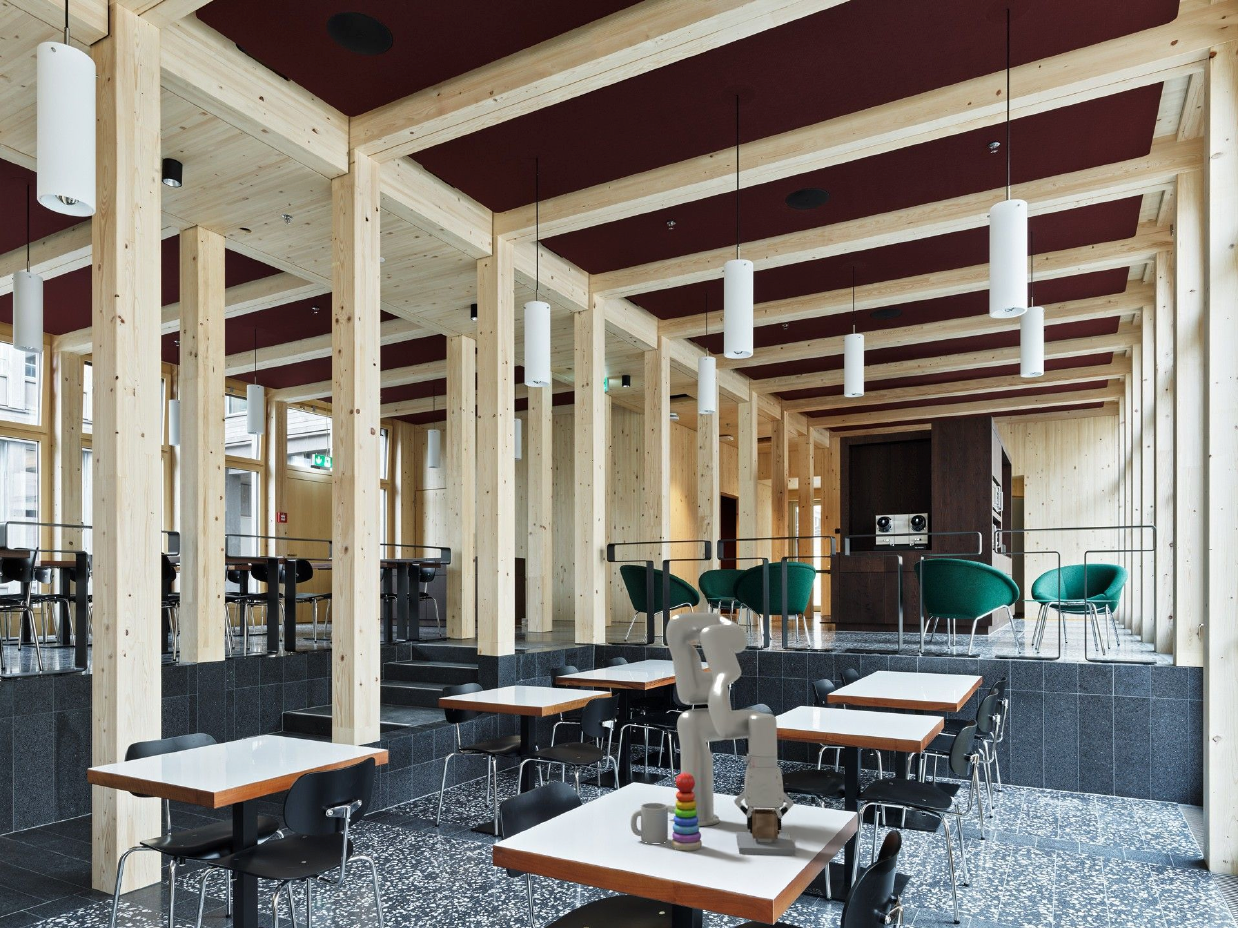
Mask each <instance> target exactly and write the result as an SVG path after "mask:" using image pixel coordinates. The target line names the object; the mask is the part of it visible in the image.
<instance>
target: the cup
mask: <svg viewBox="0 0 1238 928" xmlns="http://www.w3.org/2000/svg"><path fill="white" fill-rule="evenodd" d="M667 805H668V804H666V803H659V802H650V803H649V802H647V803H646V802H645V803H642V804H641V805H640V809H637V810H635V811H634V812H632V815H631V818H630V829H631V831H632V833H633V834H634V835H635V836H638V837H640V840H641V842H642V841H644V842H647V843H663V844H665V843H664V842H666V841H667V842H668V837H669V828H668V827H669V820H668V819H669V816H668V815H669V812H668V806H667ZM639 817H640V829H639V828H638V823H637V821H638V818H639ZM644 842H643V843H644ZM667 842H666V843H667ZM647 843H646V844H647Z"/></svg>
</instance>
